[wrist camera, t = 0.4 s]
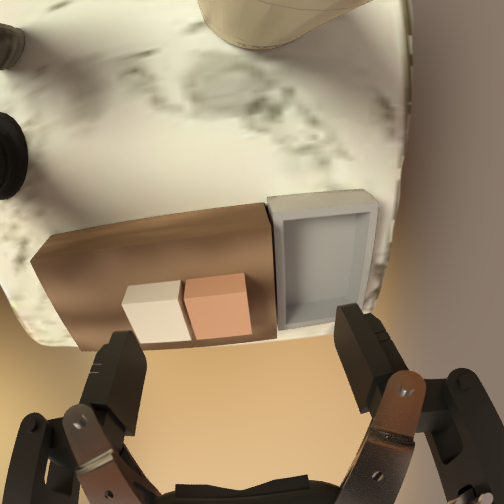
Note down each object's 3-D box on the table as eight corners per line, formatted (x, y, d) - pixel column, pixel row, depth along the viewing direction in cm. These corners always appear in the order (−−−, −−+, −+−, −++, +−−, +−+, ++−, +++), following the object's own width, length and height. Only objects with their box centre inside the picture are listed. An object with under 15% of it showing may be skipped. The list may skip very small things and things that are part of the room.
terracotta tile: (186, 279, 25) (183, 298, 23) (244, 272, 25) (246, 291, 23) (197, 320, 28) (196, 339, 26) (249, 314, 28) (252, 334, 26)
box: (267, 197, 27) (272, 212, 24) (363, 188, 27) (378, 203, 24) (274, 309, 35) (278, 330, 32) (350, 297, 35) (360, 316, 32)
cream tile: (128, 285, 25) (121, 304, 23) (180, 280, 25) (177, 299, 23) (144, 324, 28) (140, 343, 25) (192, 320, 28) (191, 340, 26)
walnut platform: (51, 235, 27) (30, 261, 22) (263, 202, 27) (271, 227, 23) (92, 322, 34) (81, 351, 29) (270, 306, 34) (277, 338, 30)
